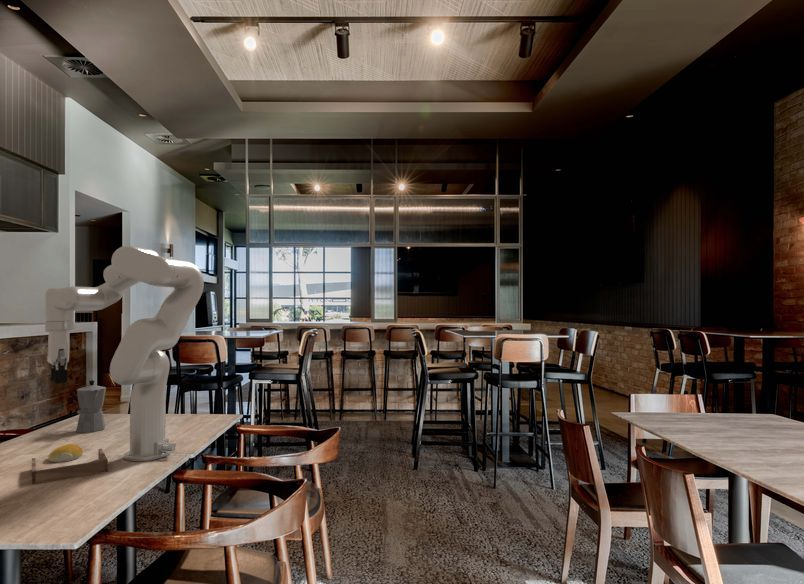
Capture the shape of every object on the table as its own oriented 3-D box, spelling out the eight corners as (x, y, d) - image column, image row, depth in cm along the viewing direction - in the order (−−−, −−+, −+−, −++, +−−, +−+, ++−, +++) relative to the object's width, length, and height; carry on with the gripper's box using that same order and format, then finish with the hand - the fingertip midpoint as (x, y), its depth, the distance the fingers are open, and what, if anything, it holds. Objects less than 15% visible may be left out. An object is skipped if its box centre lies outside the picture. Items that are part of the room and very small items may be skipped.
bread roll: (84, 453, 157) (85, 440, 157) (78, 461, 149) (78, 447, 149) (53, 456, 154) (53, 442, 154) (44, 464, 146) (44, 450, 146)
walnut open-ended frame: (31, 469, 140) (31, 458, 141) (101, 458, 150) (101, 448, 150) (31, 484, 128) (31, 472, 129) (107, 471, 138) (107, 460, 138)
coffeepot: (110, 430, 185) (111, 380, 186) (80, 435, 179) (81, 383, 179) (99, 424, 196) (100, 376, 197) (70, 428, 190) (71, 379, 191)
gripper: (42, 327, 166) (41, 380, 165) (48, 327, 153) (47, 385, 152) (69, 326, 171) (69, 378, 170) (77, 327, 157) (77, 383, 157)
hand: (59, 381), depth 161 cm, fingers open, 9 cm apart
